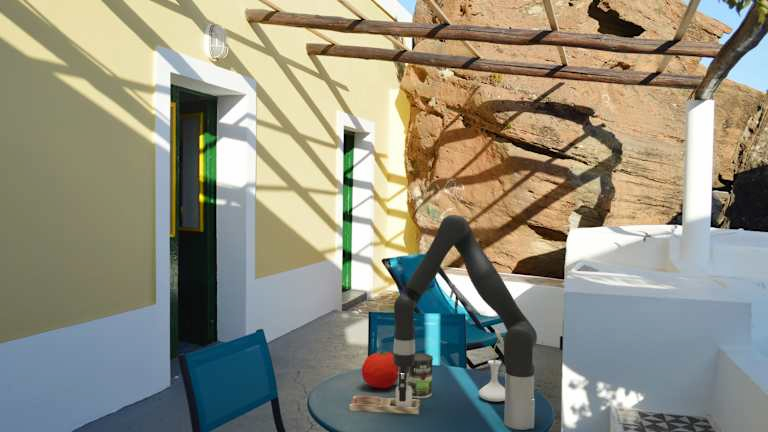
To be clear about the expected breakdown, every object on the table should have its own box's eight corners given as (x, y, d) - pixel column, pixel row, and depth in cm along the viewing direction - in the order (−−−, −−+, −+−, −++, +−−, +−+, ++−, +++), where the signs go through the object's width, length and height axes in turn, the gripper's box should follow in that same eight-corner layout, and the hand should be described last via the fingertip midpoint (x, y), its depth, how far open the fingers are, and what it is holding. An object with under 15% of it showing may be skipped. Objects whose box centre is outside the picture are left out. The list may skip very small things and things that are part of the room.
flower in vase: (507, 406, 216) (509, 336, 215) (475, 402, 220) (477, 333, 219) (512, 394, 229) (513, 328, 227) (481, 390, 232) (483, 325, 231)
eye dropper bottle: (410, 411, 210) (410, 377, 209) (394, 410, 211) (394, 376, 211) (412, 407, 214) (413, 373, 214) (396, 405, 216) (397, 372, 215)
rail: (419, 405, 216) (419, 398, 216) (418, 414, 208) (418, 407, 208) (353, 401, 219) (353, 395, 219) (349, 410, 210) (349, 404, 210)
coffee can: (436, 397, 225) (436, 359, 224) (409, 399, 222) (410, 361, 221) (426, 388, 235) (427, 352, 234) (401, 390, 232) (401, 353, 231)
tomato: (390, 379, 244) (391, 345, 243) (406, 390, 232) (406, 354, 231) (354, 384, 238) (355, 350, 237) (368, 396, 225) (368, 359, 224)
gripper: (413, 357, 204) (412, 404, 205) (416, 346, 218) (415, 390, 219) (391, 356, 205) (390, 403, 206) (395, 345, 219) (394, 389, 220)
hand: (403, 396), depth 213 cm, fingers open, 8 cm apart
